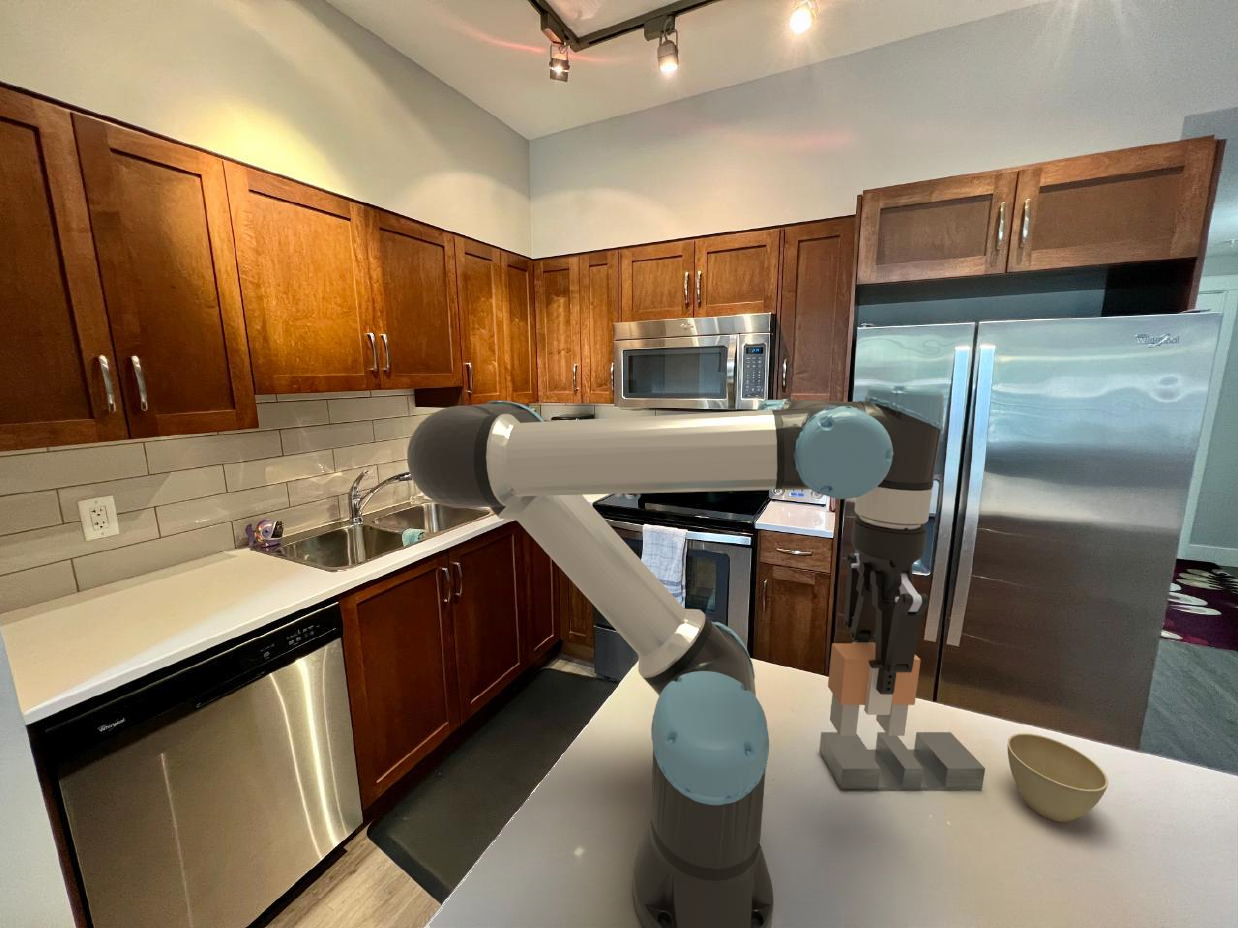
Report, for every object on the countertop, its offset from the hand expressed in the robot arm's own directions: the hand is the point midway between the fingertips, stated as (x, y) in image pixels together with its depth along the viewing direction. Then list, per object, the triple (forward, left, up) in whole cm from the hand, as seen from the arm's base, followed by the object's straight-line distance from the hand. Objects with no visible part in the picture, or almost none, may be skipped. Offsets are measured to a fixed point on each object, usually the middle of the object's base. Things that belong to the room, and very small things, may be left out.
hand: (867, 700), depth 60 cm
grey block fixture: (+10, +8, -17) cm, 22 cm away
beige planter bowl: (+27, +2, -17) cm, 32 cm away
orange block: (0, 0, -4) cm, 4 cm away
